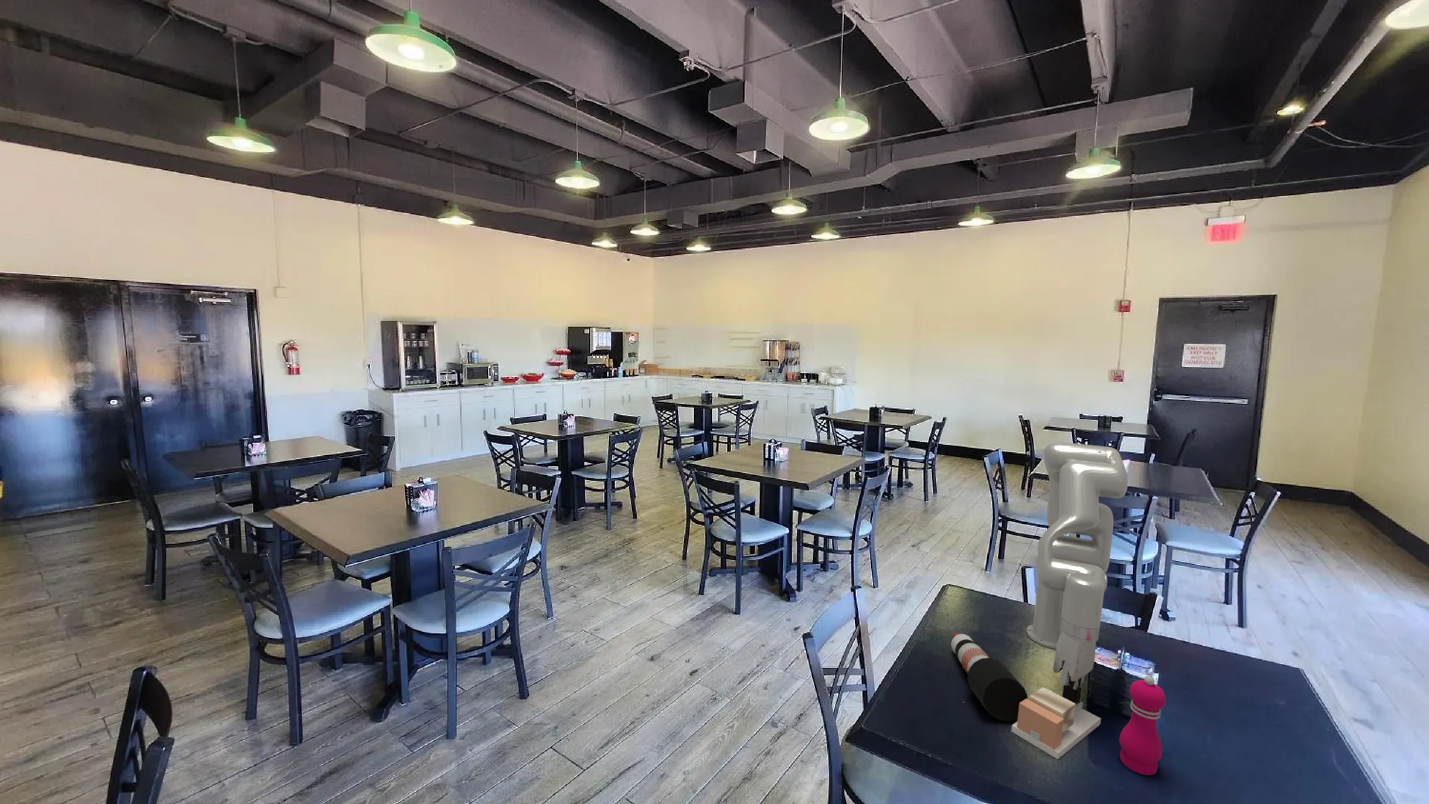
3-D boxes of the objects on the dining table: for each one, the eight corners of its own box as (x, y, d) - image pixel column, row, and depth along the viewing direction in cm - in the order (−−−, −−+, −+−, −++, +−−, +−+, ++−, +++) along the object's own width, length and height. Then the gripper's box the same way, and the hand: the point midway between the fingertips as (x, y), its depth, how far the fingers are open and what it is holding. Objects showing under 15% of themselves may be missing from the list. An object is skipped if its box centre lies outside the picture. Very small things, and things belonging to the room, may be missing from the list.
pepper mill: (1108, 752, 125) (1119, 666, 122) (1139, 751, 125) (1151, 665, 123) (1135, 778, 117) (1148, 688, 115) (1168, 777, 118) (1181, 687, 115)
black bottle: (962, 660, 166) (980, 630, 165) (1013, 729, 133) (1036, 692, 132) (931, 642, 167) (949, 612, 166) (974, 706, 133) (997, 670, 132)
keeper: (1040, 706, 134) (1043, 687, 133) (1073, 724, 128) (1075, 703, 128) (1027, 716, 131) (1029, 696, 130) (1059, 734, 125) (1062, 713, 124)
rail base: (1055, 700, 142) (1058, 672, 141) (1100, 724, 133) (1103, 694, 132) (1011, 731, 130) (1014, 700, 129) (1057, 759, 122) (1061, 727, 121)
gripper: (1077, 612, 140) (1069, 681, 142) (1046, 629, 131) (1038, 703, 134) (1112, 626, 133) (1103, 698, 136) (1081, 645, 125) (1072, 722, 128)
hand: (1070, 700), depth 135 cm, fingers closed
